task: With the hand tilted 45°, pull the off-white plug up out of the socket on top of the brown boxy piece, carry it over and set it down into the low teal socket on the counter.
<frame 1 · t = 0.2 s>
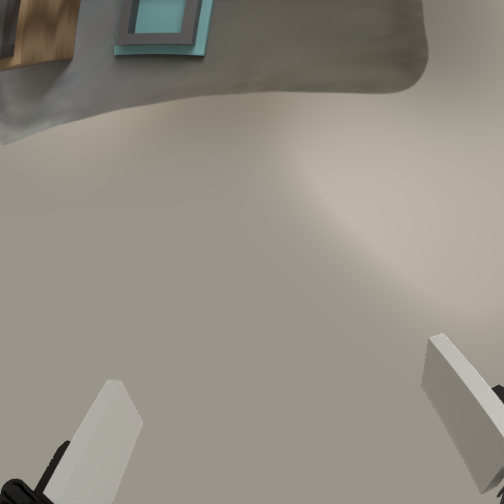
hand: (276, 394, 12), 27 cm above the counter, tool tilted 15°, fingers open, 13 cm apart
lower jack: (165, 12, 24), on the counter
brown boxy piece: (45, 26, 23), on the counter
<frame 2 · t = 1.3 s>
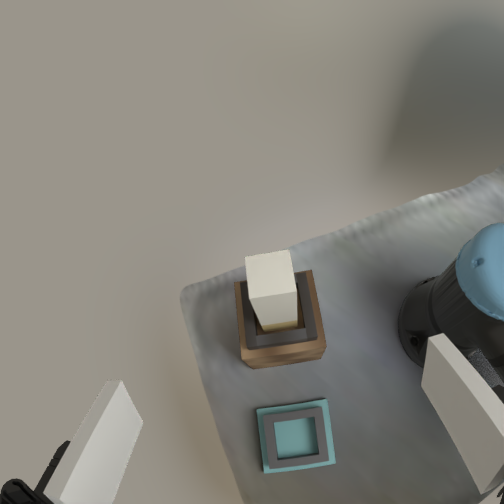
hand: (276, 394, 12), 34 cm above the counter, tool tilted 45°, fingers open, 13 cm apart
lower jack: (296, 436, 38), on the counter
brown boxy piece: (282, 332, 46), on the counter
plug: (278, 313, 37), point 10 cm above the counter, touching brown boxy piece
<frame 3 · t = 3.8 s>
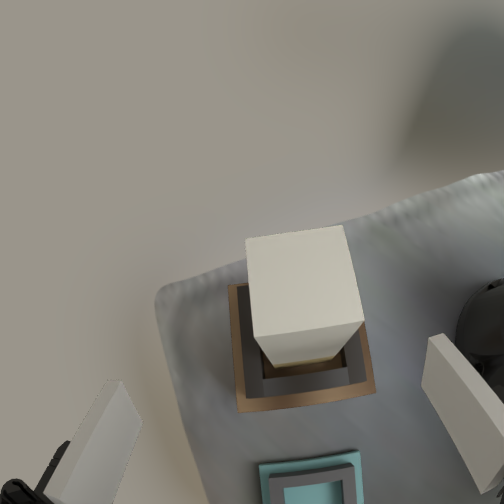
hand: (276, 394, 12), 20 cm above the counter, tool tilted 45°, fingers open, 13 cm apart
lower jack: (313, 499, 24), on the counter
brown boxy piece: (298, 356, 31), on the counter
plug: (299, 339, 22), point 10 cm above the counter, touching brown boxy piece
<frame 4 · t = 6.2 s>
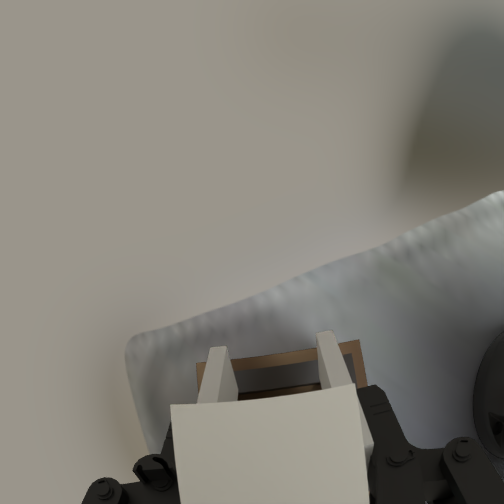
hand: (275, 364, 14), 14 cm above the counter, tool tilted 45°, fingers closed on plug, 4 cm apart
brown boxy piece: (290, 424, 24), on the counter
plug: (287, 434, 16), point 10 cm above the counter, touching gripper, brown boxy piece
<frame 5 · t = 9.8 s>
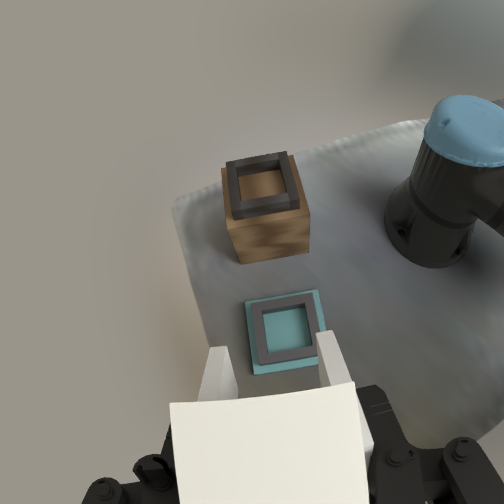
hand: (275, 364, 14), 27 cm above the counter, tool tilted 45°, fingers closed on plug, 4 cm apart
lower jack: (287, 332, 41), on the counter
brown boxy piece: (269, 229, 48), on the counter
plug: (287, 434, 16), point 23 cm above the counter, touching gripper
when the fingers open (6 cm above the counter, at t = 13.6 s): plug drops 1 cm, resting on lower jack.
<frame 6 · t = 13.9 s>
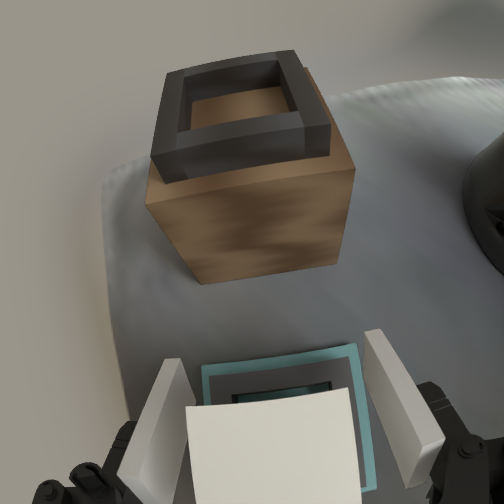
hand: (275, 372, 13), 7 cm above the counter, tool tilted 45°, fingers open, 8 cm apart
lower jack: (288, 432, 17), on the counter
brown boxy piece: (260, 217, 25), on the counter
plug: (288, 433, 16), point 1 cm above the counter, touching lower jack
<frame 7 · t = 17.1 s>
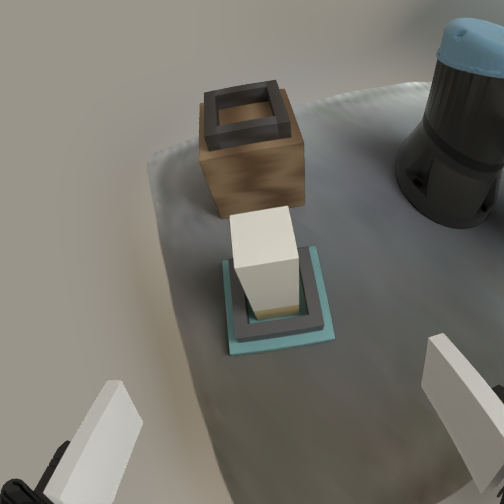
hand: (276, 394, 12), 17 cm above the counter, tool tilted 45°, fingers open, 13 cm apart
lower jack: (276, 301, 32), on the counter
brown boxy piece: (257, 180, 39), on the counter
plug: (275, 298, 31), point 1 cm above the counter, touching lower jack
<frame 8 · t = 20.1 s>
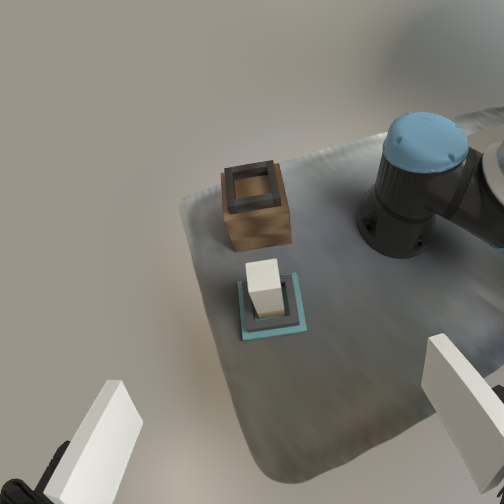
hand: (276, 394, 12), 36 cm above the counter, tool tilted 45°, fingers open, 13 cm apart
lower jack: (271, 307, 50), on the counter
brown boxy piece: (260, 224, 58), on the counter
plug: (270, 305, 50), point 1 cm above the counter, touching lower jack
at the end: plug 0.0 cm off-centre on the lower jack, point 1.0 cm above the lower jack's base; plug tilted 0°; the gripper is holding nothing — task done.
